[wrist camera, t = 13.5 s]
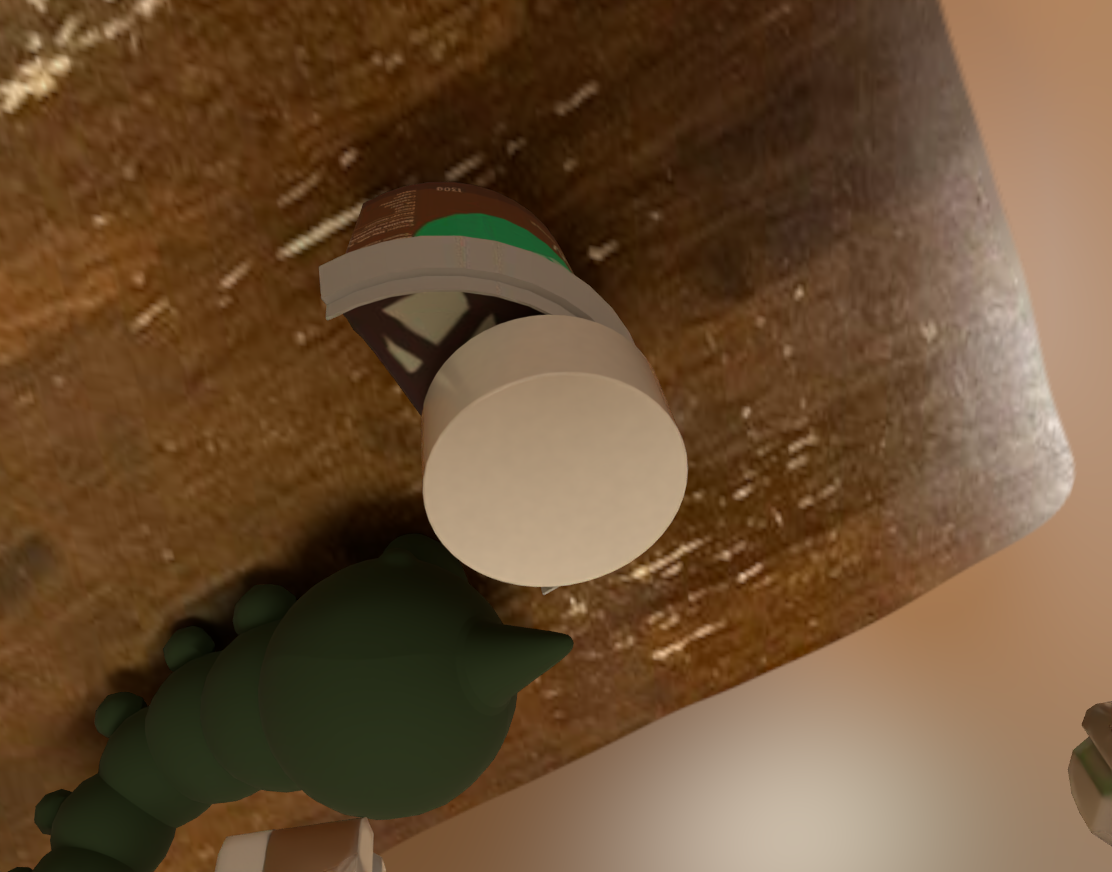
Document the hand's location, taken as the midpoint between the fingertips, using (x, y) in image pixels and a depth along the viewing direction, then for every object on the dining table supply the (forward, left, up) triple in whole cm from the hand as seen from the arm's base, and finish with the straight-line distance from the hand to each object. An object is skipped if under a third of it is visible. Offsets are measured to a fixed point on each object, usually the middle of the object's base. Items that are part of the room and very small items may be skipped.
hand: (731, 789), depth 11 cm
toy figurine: (+12, +21, -26) cm, 35 cm away
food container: (+1, +5, -26) cm, 26 cm away
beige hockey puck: (+1, +5, -15) cm, 16 cm away
